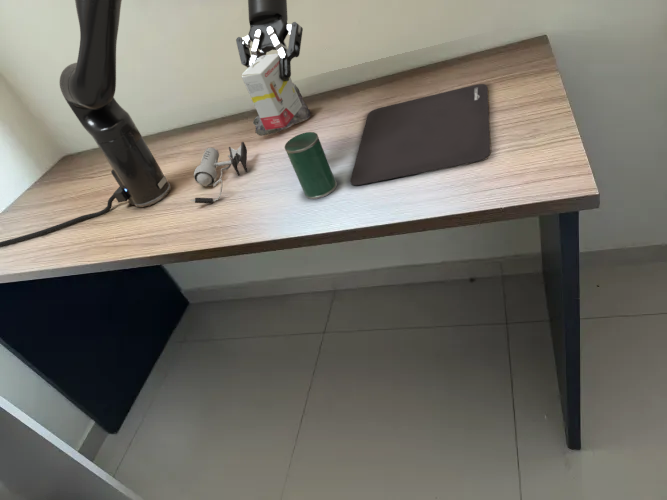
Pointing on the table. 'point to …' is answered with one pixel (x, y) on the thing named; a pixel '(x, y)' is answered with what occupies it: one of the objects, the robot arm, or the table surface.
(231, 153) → the clip-on lamp
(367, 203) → the table surface
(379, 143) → the mouse pad
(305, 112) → the mineral rock
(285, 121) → the ink box
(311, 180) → the tin can
